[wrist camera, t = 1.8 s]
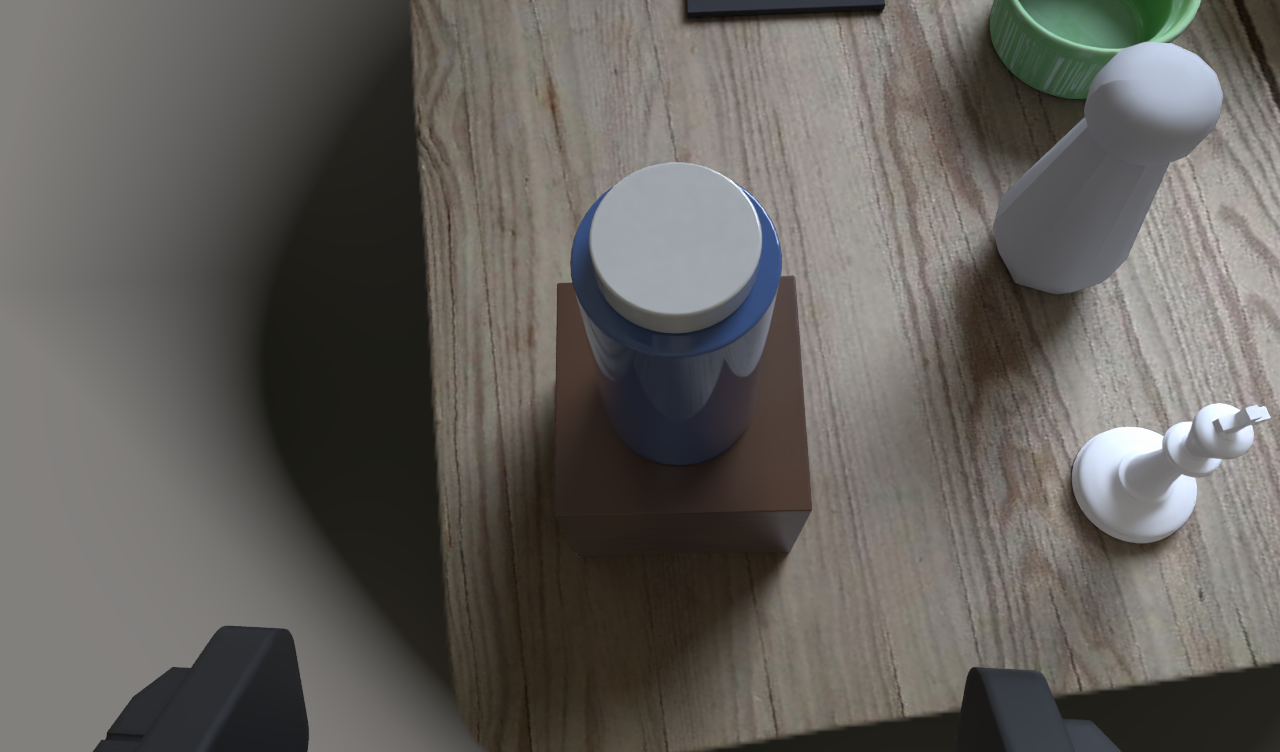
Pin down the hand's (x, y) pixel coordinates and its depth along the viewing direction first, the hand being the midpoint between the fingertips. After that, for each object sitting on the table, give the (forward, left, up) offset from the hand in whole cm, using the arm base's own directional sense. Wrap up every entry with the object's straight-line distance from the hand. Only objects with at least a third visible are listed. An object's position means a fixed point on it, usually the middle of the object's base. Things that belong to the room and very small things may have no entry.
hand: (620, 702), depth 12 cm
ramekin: (+21, +33, -31) cm, 49 cm away
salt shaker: (+18, +21, -31) cm, 41 cm away
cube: (+1, +12, -30) cm, 33 cm away
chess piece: (+20, +10, -31) cm, 38 cm away
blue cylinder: (+1, +12, -22) cm, 25 cm away
